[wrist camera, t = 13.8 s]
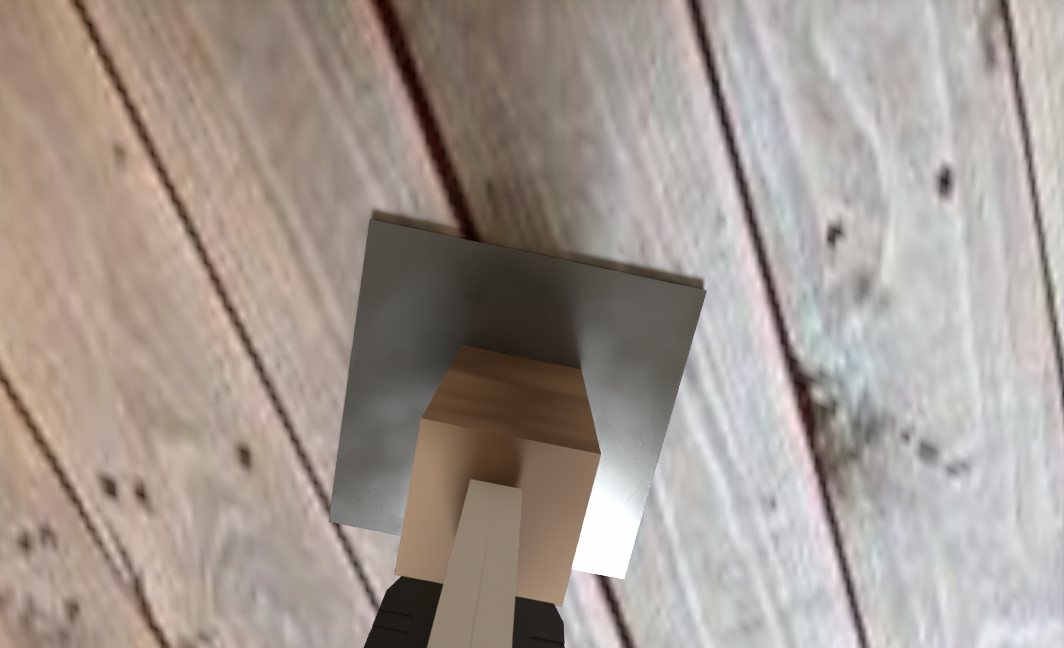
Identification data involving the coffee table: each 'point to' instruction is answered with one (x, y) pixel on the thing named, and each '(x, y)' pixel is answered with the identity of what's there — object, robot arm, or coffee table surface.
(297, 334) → the coffee table surface
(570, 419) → the tan wooden block
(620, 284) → the grey square base plate
